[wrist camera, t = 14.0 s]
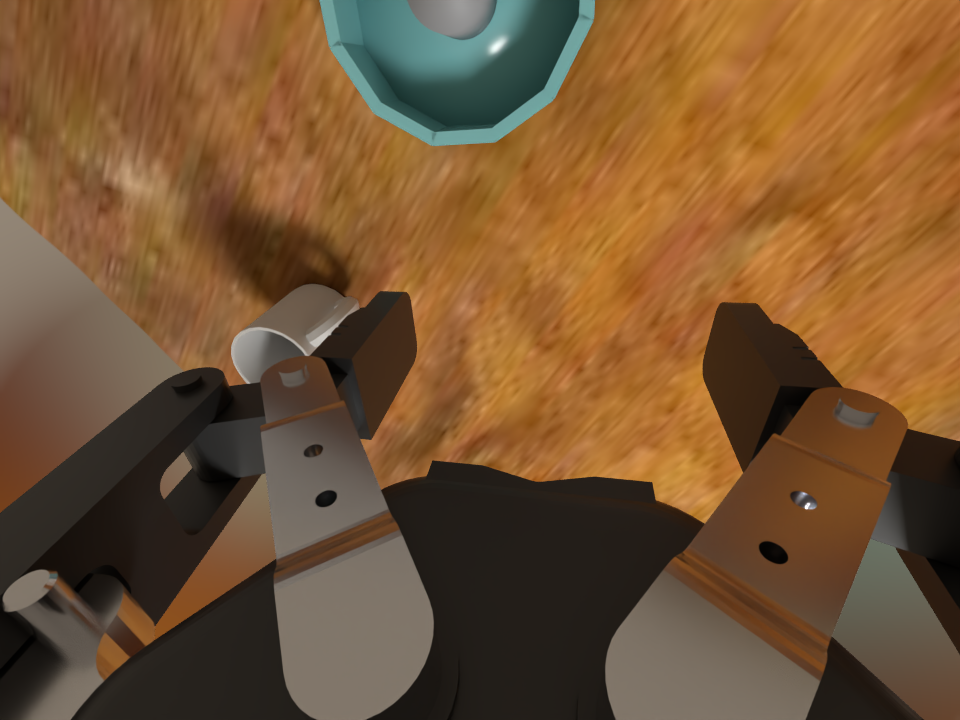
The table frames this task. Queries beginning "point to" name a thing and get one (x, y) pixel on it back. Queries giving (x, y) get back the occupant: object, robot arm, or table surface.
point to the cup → (290, 329)
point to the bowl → (457, 65)
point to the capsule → (454, 16)
